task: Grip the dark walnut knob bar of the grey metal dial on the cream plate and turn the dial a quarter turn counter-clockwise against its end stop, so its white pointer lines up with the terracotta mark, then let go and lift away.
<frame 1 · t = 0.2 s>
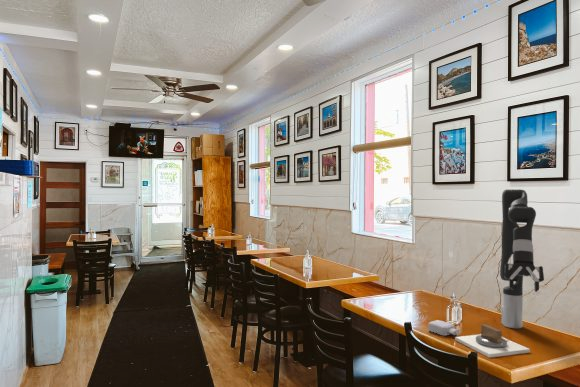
hand: (524, 290, 171), 31 cm above the table, tool tilted 20°, fingers open, 8 cm apart
grey elongated piece: (446, 334, 209), on the table
dial: (491, 335, 192), point 5 cm above the table, hinge at 0.0°
dial plate: (491, 346, 192), on the table
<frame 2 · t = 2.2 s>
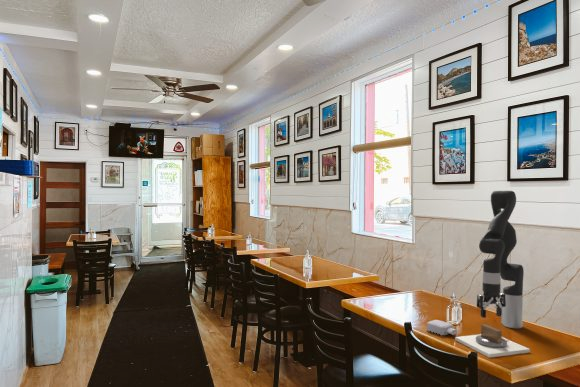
hand: (491, 316, 192), 14 cm above the table, tool pointing down, fingers open, 8 cm apart
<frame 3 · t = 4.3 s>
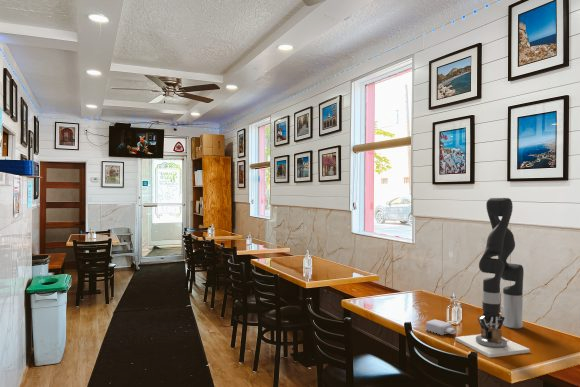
hand: (491, 338, 192), 4 cm above the table, tool pointing down, fingers closed on dial, 2 cm apart
dial: (491, 335, 192), point 5 cm above the table, hinge at 0.0°, touching gripper
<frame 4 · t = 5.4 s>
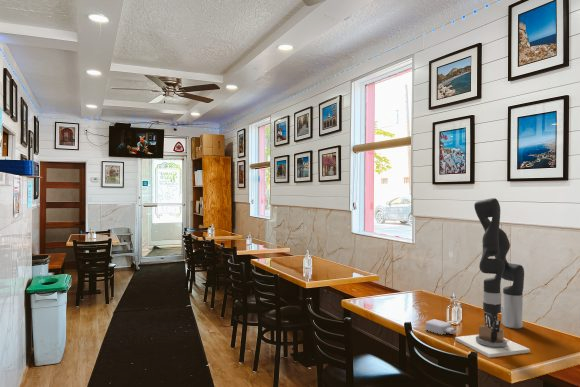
hand: (491, 338, 192), 4 cm above the table, tool pointing down, fingers closed on dial, 4 cm apart
dial: (491, 335, 192), point 5 cm above the table, hinge at 39.1°, touching gripper
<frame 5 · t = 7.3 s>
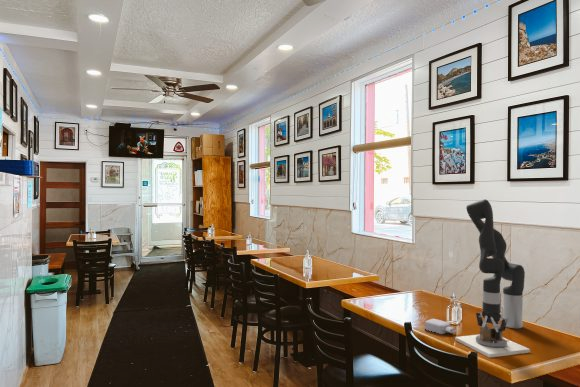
hand: (491, 337, 192), 4 cm above the table, tool pointing down, fingers open, 5 cm apart
dial: (491, 335, 192), point 5 cm above the table, hinge at 84.8°
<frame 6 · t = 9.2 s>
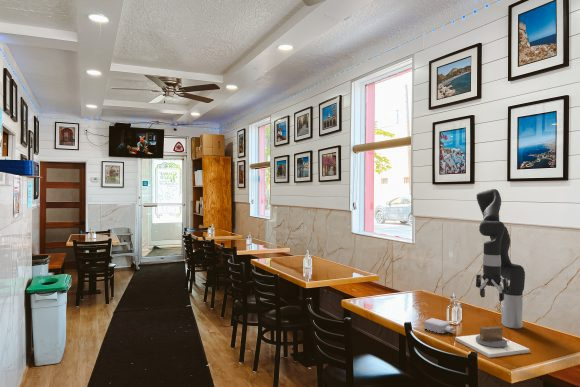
hand: (491, 299, 192), 22 cm above the table, tool pointing down, fingers open, 8 cm apart
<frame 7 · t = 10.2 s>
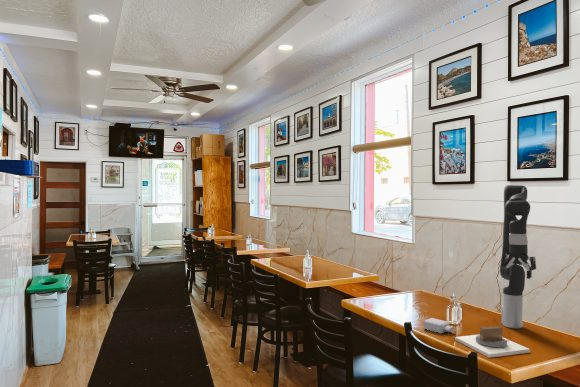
hand: (519, 277, 196), 31 cm above the table, tool pointing down, fingers open, 8 cm apart
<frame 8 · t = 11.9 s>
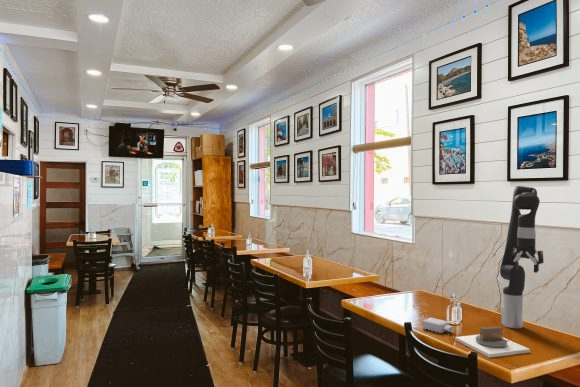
hand: (526, 271, 197), 34 cm above the table, tool pointing down, fingers open, 8 cm apart
at the end: dial at +85° (first picture: +0°) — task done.
